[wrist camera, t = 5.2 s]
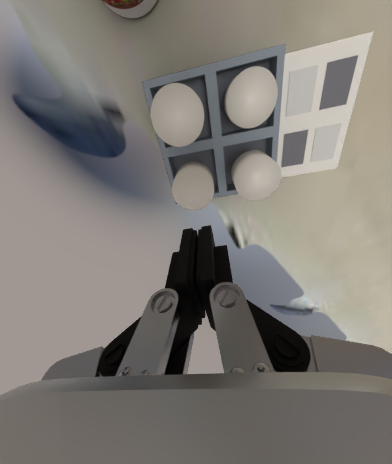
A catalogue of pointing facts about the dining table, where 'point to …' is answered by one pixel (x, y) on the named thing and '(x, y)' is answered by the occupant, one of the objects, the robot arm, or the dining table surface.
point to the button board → (222, 117)
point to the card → (318, 103)
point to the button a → (177, 114)
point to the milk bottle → (130, 7)
